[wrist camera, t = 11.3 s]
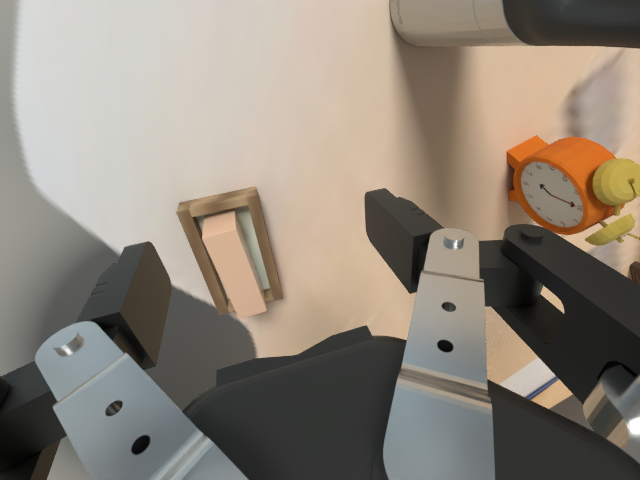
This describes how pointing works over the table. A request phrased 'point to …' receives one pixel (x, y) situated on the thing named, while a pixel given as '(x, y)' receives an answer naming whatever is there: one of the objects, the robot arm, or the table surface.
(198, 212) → the picture frame
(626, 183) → the alarm clock
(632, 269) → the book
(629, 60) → the table surface
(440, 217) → the table surface
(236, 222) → the strip
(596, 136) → the table surface
